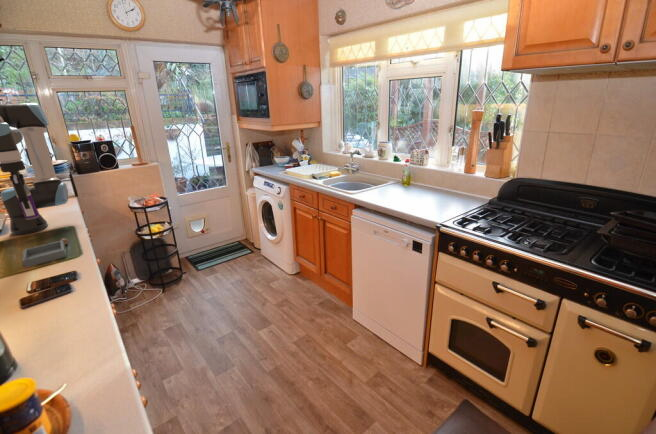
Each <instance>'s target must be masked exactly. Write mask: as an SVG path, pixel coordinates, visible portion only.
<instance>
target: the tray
mask: <svg viewBox="0 0 656 434" xmlns="http://www.w3.org/2000/svg"><path fill="white" fill-rule="evenodd" d="M60 240H61V239H60ZM60 240H59V241H58V240H57V241H53V242H50V243H46V244H42V245H38V246H34V247H33V246H32V247H29V248H26V249H23V253H22V259H21V262H22V264H23V267H24V268H29V267H32V266H36V265H40V264H44V263H49V262H50V261H55V260H59V259H62V258H66V257H67V250H66V245H65V244H64V242H63V240H61V241H60Z"/></svg>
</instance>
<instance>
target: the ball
mask: <svg viewBox="0 0 656 434" xmlns="http://www.w3.org/2000/svg"><path fill="white" fill-rule="evenodd" d="M61 240H63V242H64V244H65V246H66V245H68V244H69V240H68V238H64V237H63V238H61V239H60V240H59V241H61Z"/></svg>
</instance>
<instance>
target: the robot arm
mask: <svg viewBox="0 0 656 434" xmlns="http://www.w3.org/2000/svg"><path fill="white" fill-rule="evenodd" d="M49 124H50V122H49V119H48V117H47V115H46V112H45V111H44V109H43V108H42V107H41V105H39V104H38V103H36V102H23V103H10V104H9V103H7V104H5V103H4V104H3V103H2V104H0V172H2V173H10V175H9V180H10V181H11V182H12V187H9V188H7V189H4V190H2V191H1V192H0V199H1V202H2V203H3V206H4V208H5V211H6V212H7V216H8V217H9V220H10V223H9V227H10V233H11V234H12V235H14V236H21V235H22V236H23V235H28V234H34V233H36V232H39V231H42V230H44V229H46V228H47V227H49V223H48V222H47V220H46V219H45V218H44V217H43V216H42V214H40V212H39V209H45V208H51V207H58V206H62V205H65V204H67V203H68V201H69V190H68V185H67V184H66V183H65V182H62V180H61V179H60V178H58V177H57V175H56V174H57V173H56V171H55V167H54V164H53V161H52V156H51V154H50V150H49V147H48V143H47V139H46V136H45V132H46V130H47V127H48V126H49ZM22 140H24V143H25V147H26V151H27V154H28V158H29V161H30V164H31V167H32V170H33V171H32V172H33V174H34V178H35V180H34V181H33V182H32V185H33V186H31V187H30V186H29V185H28V184H27V186H28V189H29V191H30V193H31V196H32V198H33V201H34V204H35V206H36V209H37V211H38V214H39V217H38V218H35V219H30V220H26V218H25V216H24V214H23V211H22V209H21V206H20V204H19V203H20V202H21V203H22V206H23V208H24V211H25V213H26V216H32V215H35V213H34V211H33V208H32V206H31V203H30V201H29V199H28V197H27V194H26V191H25V189H24V186H23V185H24V184H26V181H25V179H24V175H23V173H21V172H20V171H24V170H26V166H25V164H24V161H23V160H22V155H21V153H20V149H19V148H18V144H20V143H21V142H22ZM13 186H14V187H15V190H16V192H17V195H18V197H19V201H18V199H17V196H16V193H15V190H14V188H13Z"/></svg>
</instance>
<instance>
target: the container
mask: <svg viewBox="0 0 656 434" xmlns="http://www.w3.org/2000/svg"><path fill="white" fill-rule="evenodd" d="M27 185H28V184H27V183H25V184H24V185H23V186H24V189H25V191H26V194H27V197H28V199H29V201H30V203H31V206H32V208H33V211H34V213H35V215H32V216H26V213H25V211H24V208H23V206H22V203H21V202H20V203H19V204H20V206H21V209H22V211H23V214H24V216H25V218H26V220H30V219H35V218H38V217H39V214H40V213H39V214H38V212H39V210H38V209H36V206H35V204H34V201H33V198H32V196H31V193H30V191H29V189H28V186H29V185H28V186H27ZM12 187H13V188H14V190H15V187H14V186H13V185H12ZM15 193H16V196H17V199H18V201H19V197H18V195H17V192H16V190H15ZM37 210H38V211H37Z"/></svg>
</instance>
